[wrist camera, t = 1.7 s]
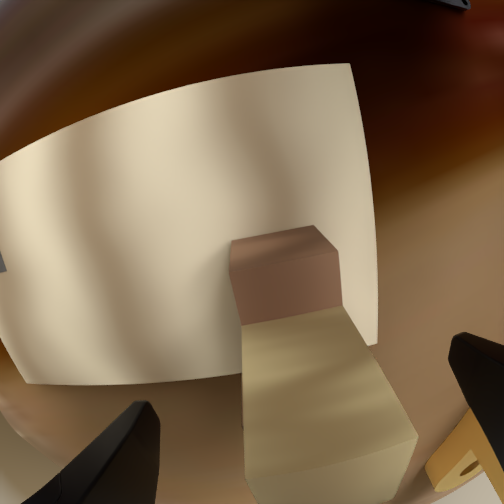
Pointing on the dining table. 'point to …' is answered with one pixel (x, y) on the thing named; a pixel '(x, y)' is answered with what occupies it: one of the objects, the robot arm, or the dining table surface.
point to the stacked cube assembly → (311, 380)
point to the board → (177, 223)
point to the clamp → (464, 458)
